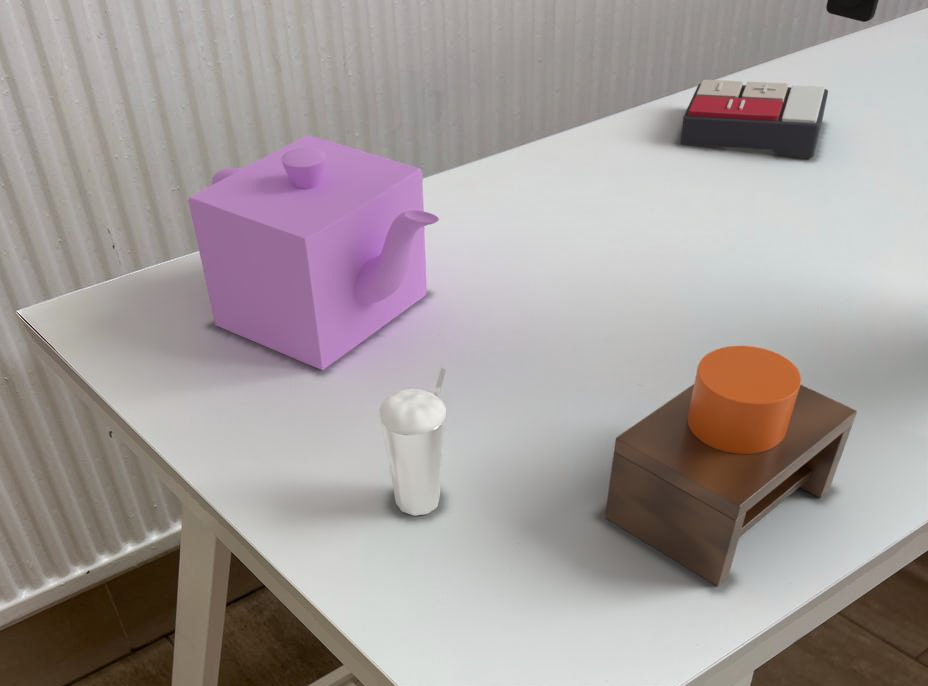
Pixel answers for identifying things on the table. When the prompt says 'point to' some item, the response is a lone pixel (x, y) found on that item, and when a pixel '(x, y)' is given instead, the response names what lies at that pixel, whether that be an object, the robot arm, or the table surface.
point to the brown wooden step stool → (717, 479)
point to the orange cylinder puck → (743, 399)
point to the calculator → (755, 116)
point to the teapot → (312, 247)
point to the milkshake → (415, 446)
